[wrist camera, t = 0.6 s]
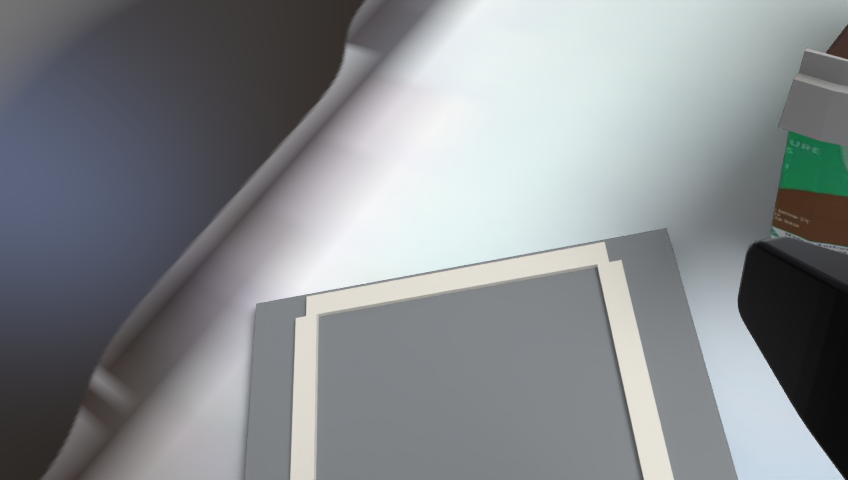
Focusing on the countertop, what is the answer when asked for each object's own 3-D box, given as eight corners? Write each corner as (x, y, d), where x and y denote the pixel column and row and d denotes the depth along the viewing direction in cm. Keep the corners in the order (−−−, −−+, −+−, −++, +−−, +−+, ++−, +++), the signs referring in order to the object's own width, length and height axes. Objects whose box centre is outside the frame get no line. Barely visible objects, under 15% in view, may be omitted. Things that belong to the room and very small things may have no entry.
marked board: (776, 628, 19) (781, 625, 18) (241, 674, 22) (228, 673, 21) (666, 237, 26) (666, 225, 25) (263, 310, 28) (254, 301, 28)
